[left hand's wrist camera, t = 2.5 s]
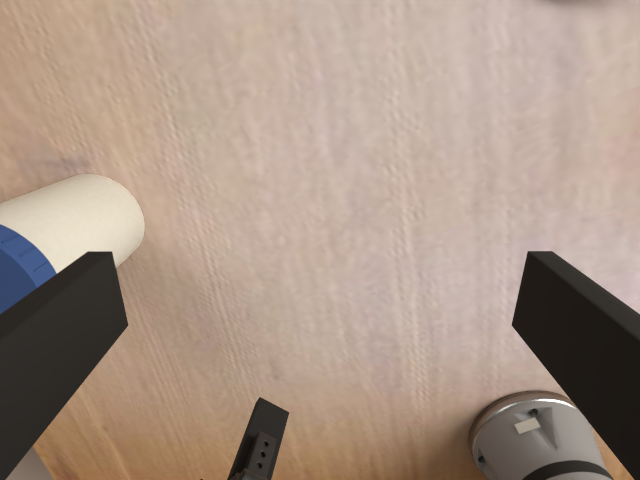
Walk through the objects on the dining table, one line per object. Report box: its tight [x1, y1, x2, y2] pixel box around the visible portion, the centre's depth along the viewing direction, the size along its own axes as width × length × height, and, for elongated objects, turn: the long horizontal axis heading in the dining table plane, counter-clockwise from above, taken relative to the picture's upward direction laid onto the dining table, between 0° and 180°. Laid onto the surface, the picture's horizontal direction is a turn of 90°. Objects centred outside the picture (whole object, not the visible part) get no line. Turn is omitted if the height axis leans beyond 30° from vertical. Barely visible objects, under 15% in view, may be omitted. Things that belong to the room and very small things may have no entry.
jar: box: [0, 174, 145, 273], centre depth 34 cm, size 10×10×16 cm
